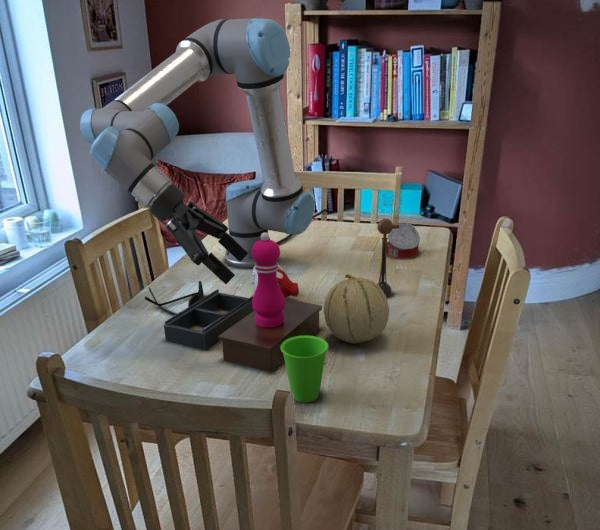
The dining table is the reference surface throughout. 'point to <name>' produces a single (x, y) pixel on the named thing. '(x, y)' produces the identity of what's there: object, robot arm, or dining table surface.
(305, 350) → the cup
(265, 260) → the pepper mill
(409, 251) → the canned food
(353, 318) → the cantaloupe
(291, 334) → the brown lidded box
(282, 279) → the red white pronged ornament
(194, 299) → the sunglasses
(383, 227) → the wooden tabletop sculpture
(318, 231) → the dining table surface
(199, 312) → the black rectangular open tray
